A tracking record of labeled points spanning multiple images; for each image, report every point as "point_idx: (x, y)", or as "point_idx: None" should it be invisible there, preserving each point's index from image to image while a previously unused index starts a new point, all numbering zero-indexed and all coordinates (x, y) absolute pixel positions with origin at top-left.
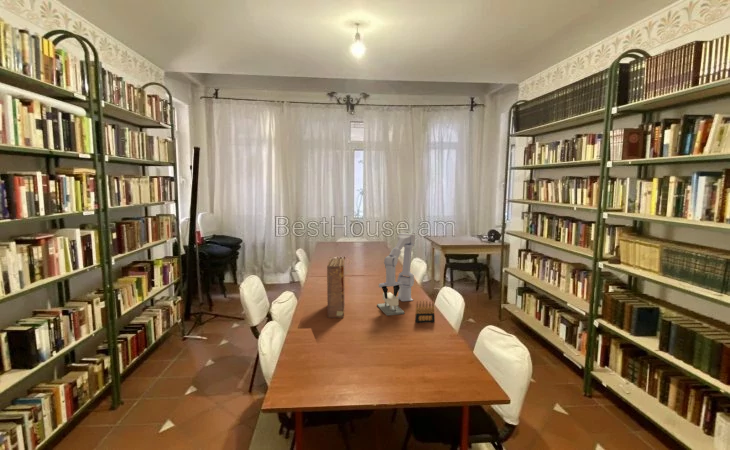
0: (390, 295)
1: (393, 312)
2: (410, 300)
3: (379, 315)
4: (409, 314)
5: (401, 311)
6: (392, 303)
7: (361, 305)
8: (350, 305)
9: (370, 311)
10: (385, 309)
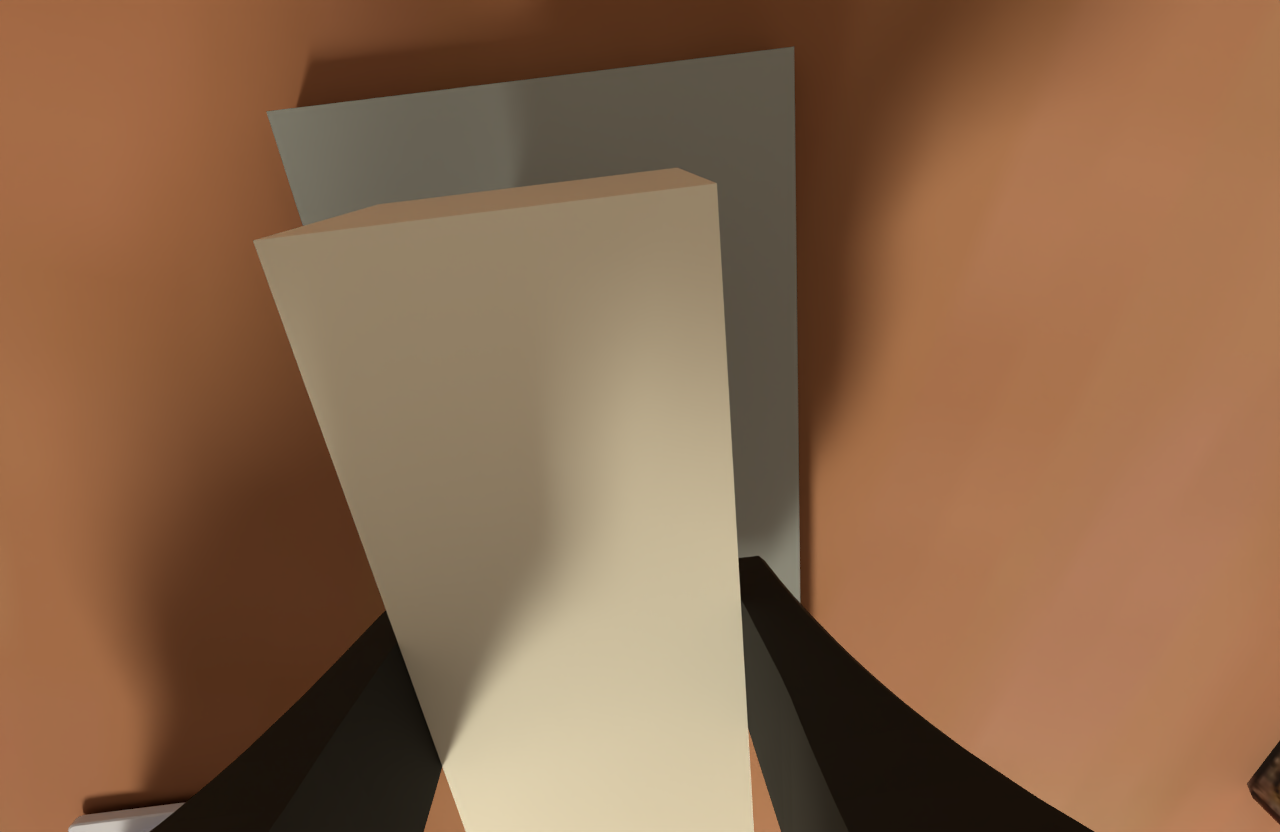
0: (575, 715)
1: (587, 115)
2: (127, 812)
3: (945, 111)
4: (152, 39)
5: (351, 158)
6: (607, 182)
7: (1040, 699)
8: (1207, 714)
9: (1026, 403)
10: (732, 372)
